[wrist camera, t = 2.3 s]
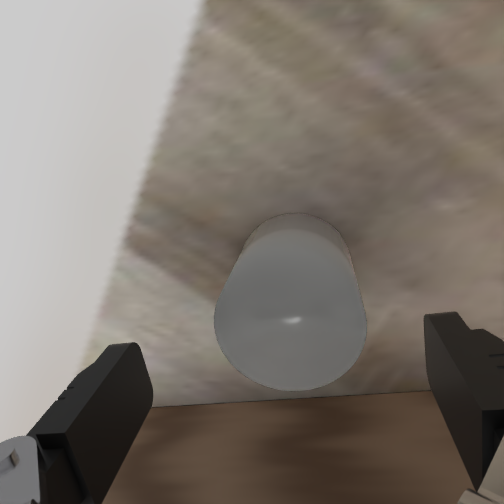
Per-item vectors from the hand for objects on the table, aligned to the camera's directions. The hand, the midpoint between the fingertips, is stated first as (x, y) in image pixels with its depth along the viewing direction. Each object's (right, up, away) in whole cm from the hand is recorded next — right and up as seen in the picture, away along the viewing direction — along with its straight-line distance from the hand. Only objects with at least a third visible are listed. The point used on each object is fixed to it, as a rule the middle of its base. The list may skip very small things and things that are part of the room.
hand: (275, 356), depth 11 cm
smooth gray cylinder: (+1, +2, +7) cm, 8 cm away
